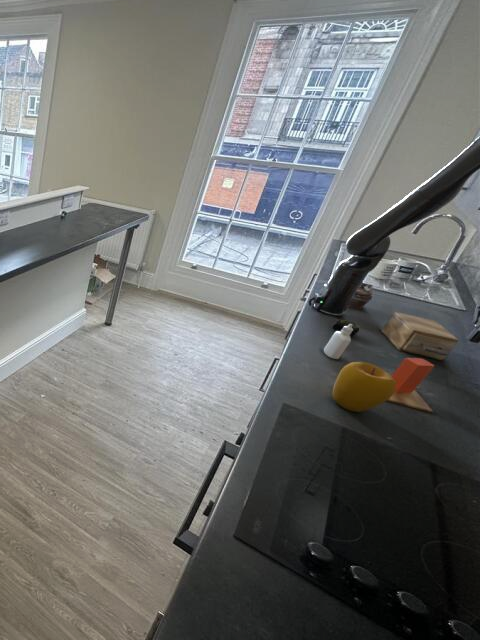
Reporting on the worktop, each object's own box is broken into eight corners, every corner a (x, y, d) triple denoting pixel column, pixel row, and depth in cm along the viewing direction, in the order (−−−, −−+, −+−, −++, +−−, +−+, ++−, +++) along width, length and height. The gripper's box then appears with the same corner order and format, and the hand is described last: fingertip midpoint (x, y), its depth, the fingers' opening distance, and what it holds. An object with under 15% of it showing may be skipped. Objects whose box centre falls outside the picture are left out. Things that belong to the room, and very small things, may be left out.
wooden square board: (378, 398, 115) (379, 396, 114) (360, 371, 126) (361, 370, 125) (431, 412, 111) (433, 411, 110) (407, 384, 122) (409, 382, 122)
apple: (383, 417, 107) (415, 380, 101) (352, 421, 105) (383, 383, 98) (343, 390, 116) (369, 354, 110) (314, 393, 114) (339, 356, 107)
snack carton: (384, 384, 120) (405, 358, 114) (399, 384, 120) (421, 358, 115) (395, 392, 117) (418, 365, 111) (411, 392, 117) (435, 365, 112)
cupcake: (336, 297, 177) (349, 276, 172) (364, 305, 172) (378, 284, 167) (335, 303, 171) (349, 282, 165) (364, 312, 165) (379, 290, 160)
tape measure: (329, 330, 149) (334, 321, 147) (335, 325, 152) (341, 317, 150) (351, 339, 144) (357, 330, 142) (357, 334, 148) (363, 325, 146)
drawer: (450, 365, 132) (464, 350, 129) (409, 356, 135) (422, 340, 132) (423, 340, 146) (434, 325, 143) (387, 331, 149) (398, 317, 146)
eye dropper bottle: (339, 354, 134) (360, 324, 128) (337, 361, 130) (359, 330, 124) (323, 348, 136) (343, 318, 130) (321, 354, 133) (341, 324, 127)
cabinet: (441, 360, 137) (458, 340, 132) (398, 349, 140) (414, 330, 136) (420, 339, 148) (435, 320, 144) (381, 330, 152) (394, 311, 148)
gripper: (485, 278, 118) (444, 327, 127) (516, 296, 107) (468, 348, 116) (519, 284, 116) (475, 334, 125) (554, 303, 105) (502, 356, 114)
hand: (472, 341), depth 120 cm, fingers closed
